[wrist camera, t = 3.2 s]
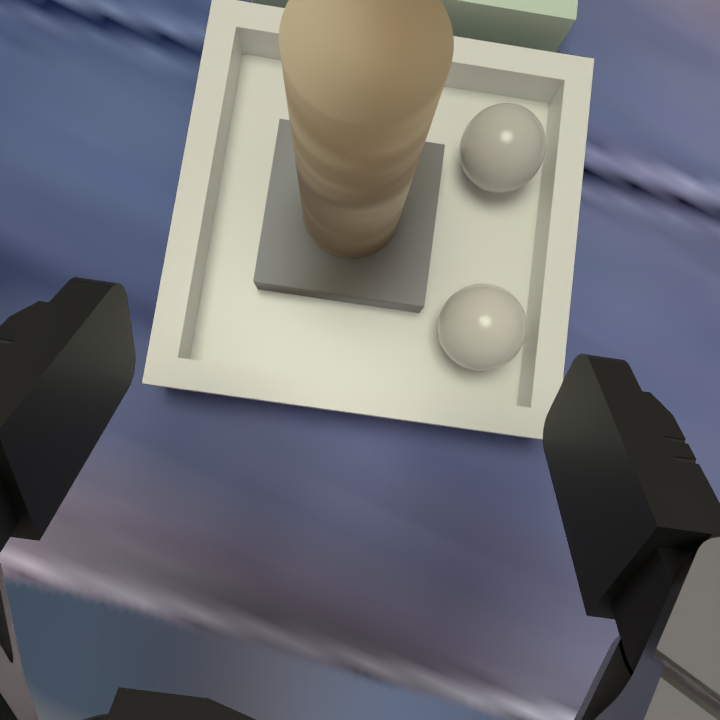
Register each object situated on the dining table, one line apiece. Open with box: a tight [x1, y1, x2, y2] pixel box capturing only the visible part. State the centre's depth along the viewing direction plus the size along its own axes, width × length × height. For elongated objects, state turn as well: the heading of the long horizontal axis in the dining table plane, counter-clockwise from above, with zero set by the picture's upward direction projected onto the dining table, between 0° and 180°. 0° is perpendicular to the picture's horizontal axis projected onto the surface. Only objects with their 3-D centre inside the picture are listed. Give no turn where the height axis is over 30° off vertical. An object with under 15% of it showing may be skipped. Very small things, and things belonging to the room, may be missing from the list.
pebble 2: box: [437, 283, 527, 371], centre depth 19 cm, size 3×3×3 cm
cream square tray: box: [142, 0, 594, 440], centre depth 21 cm, size 14×14×2 cm
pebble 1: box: [459, 103, 546, 193], centre depth 20 cm, size 3×3×3 cm
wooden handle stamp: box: [253, 0, 454, 313], centre depth 16 cm, size 6×6×10 cm
